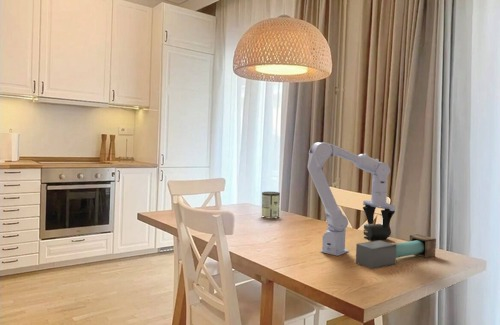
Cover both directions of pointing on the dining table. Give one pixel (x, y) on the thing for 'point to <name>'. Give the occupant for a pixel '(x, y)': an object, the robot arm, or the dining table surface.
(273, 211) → the coffee can
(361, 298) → the dining table surface
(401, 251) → the tube
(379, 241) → the grey rectangular box
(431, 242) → the socket block
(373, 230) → the end cap
